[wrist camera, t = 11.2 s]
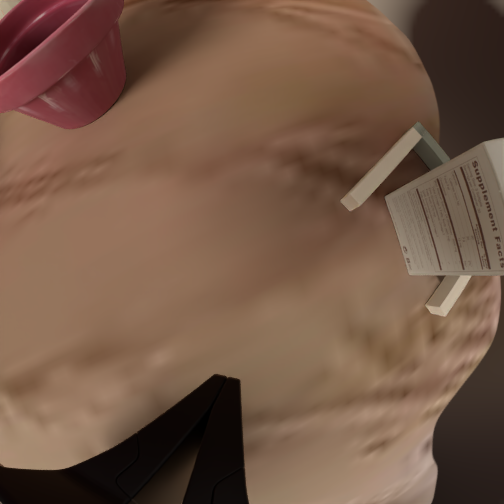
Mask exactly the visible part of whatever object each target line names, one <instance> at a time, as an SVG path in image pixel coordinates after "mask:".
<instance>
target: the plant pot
mask: <svg viewBox="0 0 504 504" xmlns="http://www.w3.org/2000/svg"><path fill="white" fill-rule="evenodd" d="M123 6H124V0H21V1H20V2H19V3H18V4H17V5H15V6H14V7H13V8H12V9H11V10H10V11H9V12H8V13H7V14H6V15H5V16H4V17H3V18H2V19H1V20H0V113H4V112H9V111H12V110H15V111H18V112H20V113H23V114H26V115H28V116H31V117H34V118H36V119H39V120H42V121H45V122H48V123H51V124H53V125H56V126H59V127H61V128H64V129H75V128H80V127H83V126H85V125H87V124H89V123H91V122H93V121H95V120H96V119H98V118H99V117H100V116H101V115H103V114H104V113H105V112H106V111H107V110H108V109H109V108H110V107H111V106H112V105H113V104H114V103H115V101H116V100H117V99H118V97H119V96H120V94H121V92H122V90H123V88H124V85H125V81H126V69H125V65H124V59H123V53H122V46H121V39H120V31H119V24H118V19H119V17H120V15H121V13H122V10H123Z"/></svg>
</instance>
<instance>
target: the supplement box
mask: <svg viewBox="0 0 504 504" xmlns="http://www.w3.org/2000/svg"><path fill="white" fill-rule="evenodd" d="M385 201H386V204H387V207H388V210H389V212H390V215H391V218H392V221H393V224H394V227H395V230H396V233H397V236H398V240H399V243H400V246H401V250H402V253H403V256H404V260H405V263H406V267H407V270H408V273H409V275H467V276H497V275H504V138H500V139H494V140H490V141H485V142H483V143H481V144H479V145H477V146H475V147H474V148H472V149H470V150H468V151H466V152H464V153H463V154H461V155H459V156H457V157H455V158H454V159H452V160H450V161H448V162H446V163H444V164H442V165H441V166H439V167H437V168H435V169H433V170H431V171H429V172H428V173H426V174H424V175H422V176H420V177H419V178H417V179H415V180H413V181H411V182H410V183H408V184H406V185H404V186H402V187H401V188H399V189H397V190H395V191H393V192H392V193H390V194H388V195H386V196H385Z"/></svg>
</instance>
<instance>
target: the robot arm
mask: <svg viewBox="0 0 504 504" xmlns="http://www.w3.org/2000/svg"><path fill="white" fill-rule="evenodd" d="M182 501H183V502H182ZM181 503H182V504H249V500H248V495H247V488H246V478H245V464H244V446H243V427H242V406H241V384H240V379H237V378H232V377H228V378H227V377H226V376H223V375H219V374H214V375H213V376H212V377H210V378H209V379H208V380H207V381H205V382H204V383H203V384H201V385H200V386H199V387H198V388H196V389H195V390H194V391H192V392H191V393H190V394H189V395H187V396H186V397H185V398H183V399H182V400H181V401H179V402H178V403H177V404H175V405H174V406H173V407H171V408H170V409H169V410H167V411H166V412H165V413H163V414H162V415H160V416H159V417H158V418H156V419H155V420H154V421H152V422H151V423H149V424H148V425H147V426H145V427H144V428H142V429H141V430H139V431H138V432H137V433H135V434H133V435H132V436H131V437H129V438H128V439H126V440H124V441H123V442H121V443H120V444H118V445H116V446H115V447H113V448H111V449H109V450H107V451H105V452H103V453H101V454H99V455H97V456H95V457H93V458H90V459H88V460H86V461H84V462H81V463H79V464H77V465H74V466H72V467H69V468H65V469H60V470H31V469H16V468H7V467H4V466H3V465H1V464H0V504H181Z"/></svg>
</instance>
